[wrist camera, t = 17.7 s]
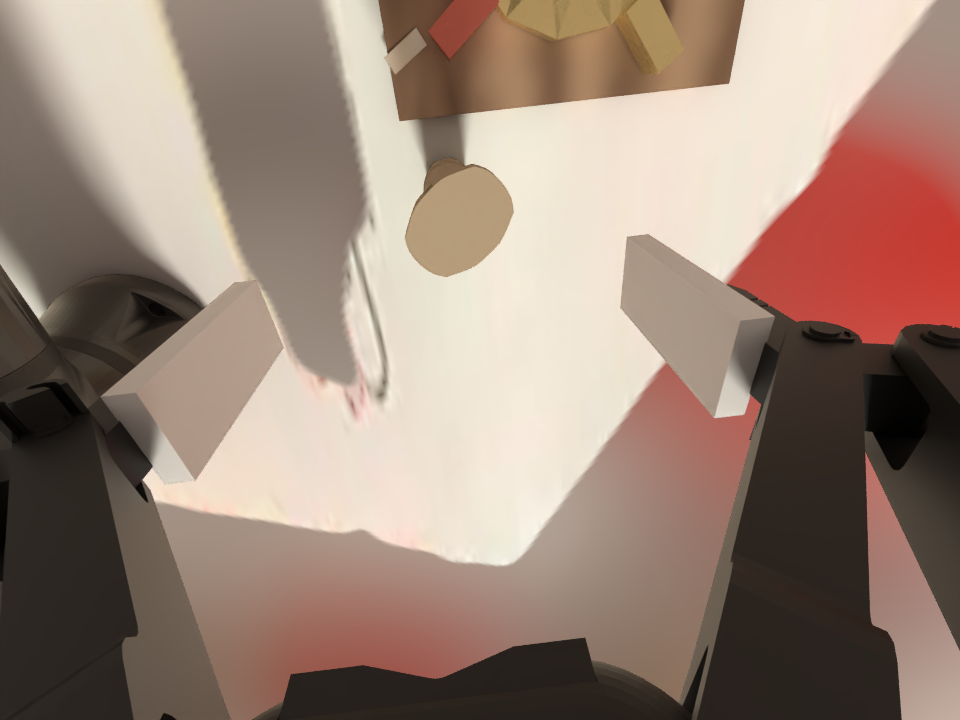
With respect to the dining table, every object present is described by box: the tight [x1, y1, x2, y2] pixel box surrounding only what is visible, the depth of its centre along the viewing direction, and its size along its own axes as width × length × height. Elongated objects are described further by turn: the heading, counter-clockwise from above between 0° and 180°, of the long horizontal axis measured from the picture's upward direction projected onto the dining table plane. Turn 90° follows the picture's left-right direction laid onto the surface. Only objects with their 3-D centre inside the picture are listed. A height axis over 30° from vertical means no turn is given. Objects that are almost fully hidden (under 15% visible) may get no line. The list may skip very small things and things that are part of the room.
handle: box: [405, 158, 514, 277], centre depth 29 cm, size 5×6×15 cm
